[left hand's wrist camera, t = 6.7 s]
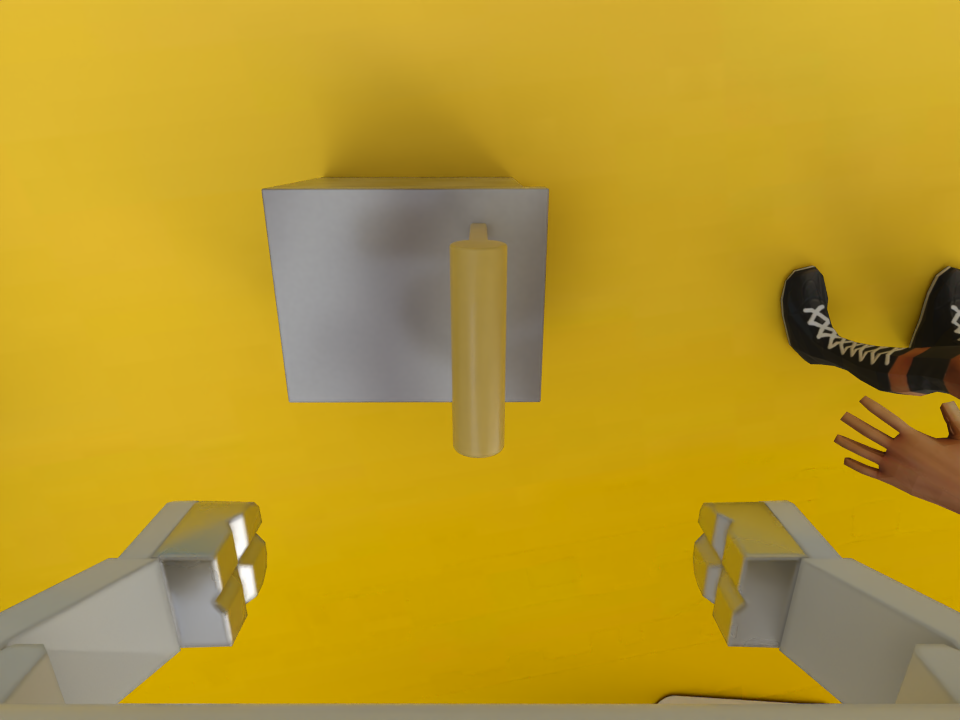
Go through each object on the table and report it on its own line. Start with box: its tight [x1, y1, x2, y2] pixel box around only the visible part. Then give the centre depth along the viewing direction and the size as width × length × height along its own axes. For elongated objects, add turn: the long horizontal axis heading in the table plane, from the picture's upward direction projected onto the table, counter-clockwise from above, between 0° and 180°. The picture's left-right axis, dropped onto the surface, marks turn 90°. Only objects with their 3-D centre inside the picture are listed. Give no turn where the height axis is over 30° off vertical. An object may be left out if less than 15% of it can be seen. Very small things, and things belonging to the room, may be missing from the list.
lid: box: [262, 187, 549, 458], centre depth 23 cm, size 12×10×9 cm
